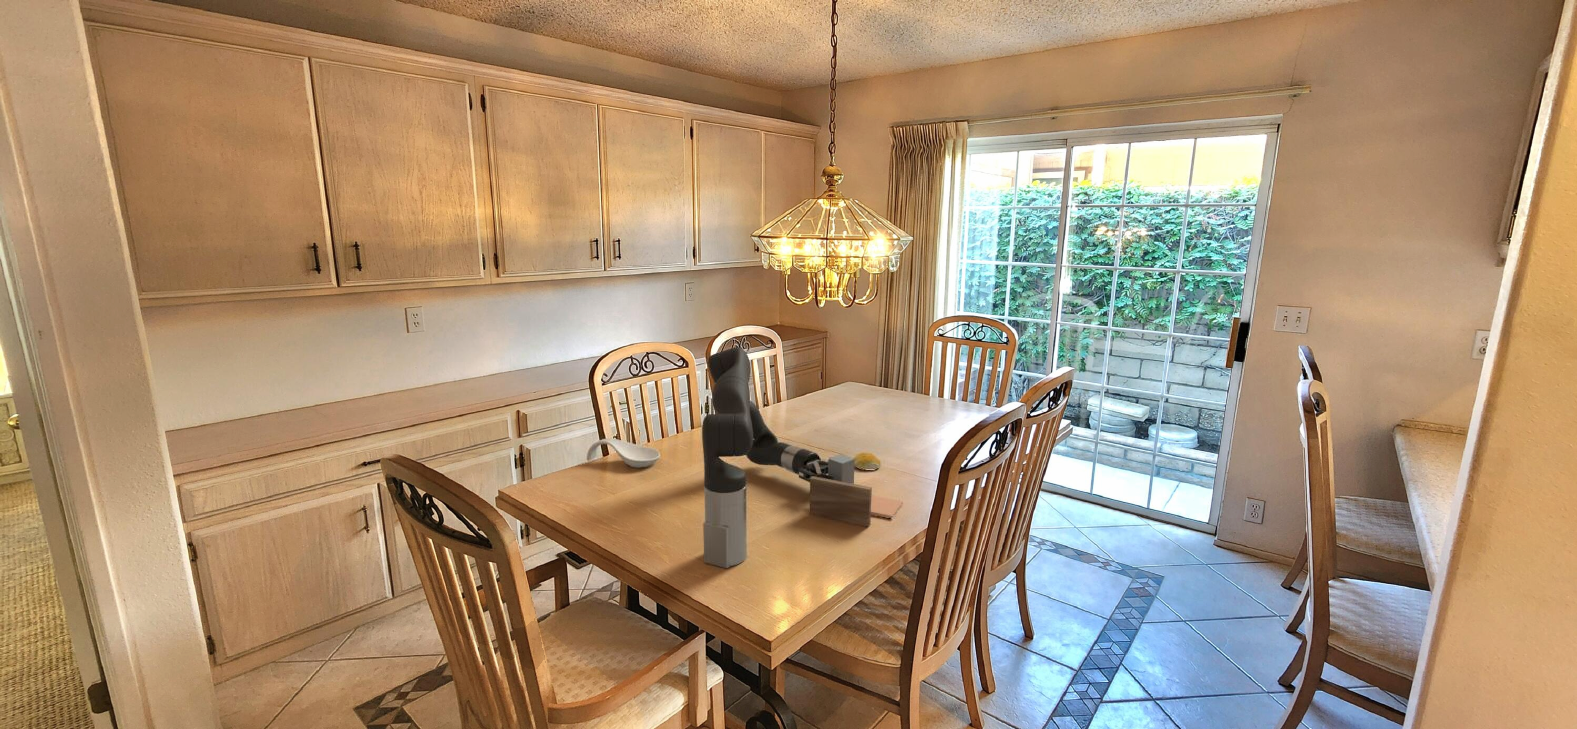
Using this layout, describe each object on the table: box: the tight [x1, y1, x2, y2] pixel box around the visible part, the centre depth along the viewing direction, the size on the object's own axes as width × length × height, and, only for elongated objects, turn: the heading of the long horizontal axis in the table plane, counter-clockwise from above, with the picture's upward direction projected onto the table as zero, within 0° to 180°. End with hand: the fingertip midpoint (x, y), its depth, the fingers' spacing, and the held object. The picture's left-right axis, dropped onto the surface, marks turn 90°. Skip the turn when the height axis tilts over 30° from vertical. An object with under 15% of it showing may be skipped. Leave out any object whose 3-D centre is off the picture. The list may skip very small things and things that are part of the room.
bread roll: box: [853, 452, 882, 470], centre depth 200 cm, size 8×9×4 cm
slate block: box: [827, 454, 855, 484], centre depth 174 cm, size 5×5×12 cm
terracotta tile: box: [871, 494, 904, 519], centre depth 170 cm, size 10×10×1 cm
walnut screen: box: [808, 476, 873, 528], centre depth 163 cm, size 2×16×10 cm, turn 64°
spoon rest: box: [586, 437, 661, 469], centre depth 200 cm, size 24×12×7 cm, turn 76°
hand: (843, 477), depth 173 cm, fingers open, 8 cm apart
